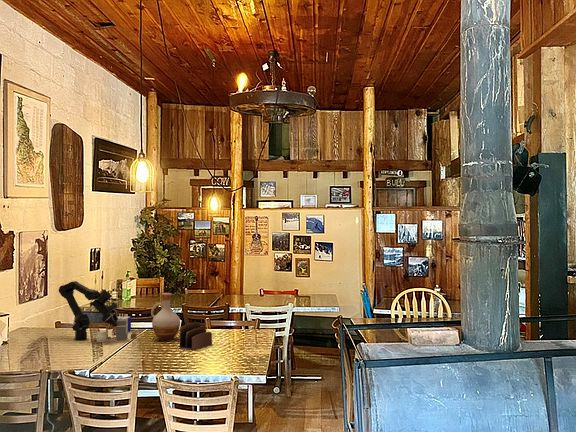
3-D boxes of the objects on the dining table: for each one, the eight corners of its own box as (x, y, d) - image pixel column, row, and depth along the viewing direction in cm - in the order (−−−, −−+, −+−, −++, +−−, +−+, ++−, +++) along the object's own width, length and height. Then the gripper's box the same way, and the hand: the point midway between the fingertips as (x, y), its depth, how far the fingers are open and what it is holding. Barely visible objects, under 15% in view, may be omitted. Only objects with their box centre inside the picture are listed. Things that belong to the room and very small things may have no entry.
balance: (96, 340, 361) (96, 325, 361) (94, 339, 365) (94, 324, 365) (119, 338, 368) (119, 323, 368) (117, 336, 373) (117, 322, 373)
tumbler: (115, 340, 355) (116, 320, 356) (118, 338, 362) (118, 319, 362) (125, 340, 356) (125, 320, 356) (127, 338, 362) (127, 319, 362)
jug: (144, 341, 357) (144, 294, 358) (157, 336, 374) (157, 291, 375) (172, 343, 353) (173, 295, 353) (184, 337, 370) (185, 292, 370)
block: (130, 339, 366) (130, 334, 366) (131, 338, 369) (131, 333, 369) (135, 339, 366) (135, 334, 366) (136, 338, 369) (136, 333, 369)
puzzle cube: (126, 333, 385) (126, 318, 386) (112, 333, 386) (112, 318, 386) (131, 330, 395) (131, 316, 396) (116, 330, 396) (117, 316, 396)
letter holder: (179, 349, 336) (179, 325, 337) (199, 343, 354) (199, 320, 354) (192, 350, 332) (192, 326, 332) (212, 344, 349) (212, 321, 349)
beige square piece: (97, 342, 354) (97, 333, 354) (95, 341, 359) (95, 331, 359) (107, 341, 357) (107, 332, 358) (105, 340, 362) (105, 330, 363)
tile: (117, 342, 353) (117, 341, 353) (113, 340, 360) (113, 339, 360) (129, 341, 357) (129, 339, 357) (126, 339, 364) (126, 337, 364)
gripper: (107, 300, 349) (125, 318, 350) (113, 296, 368) (130, 313, 369) (94, 313, 349) (112, 330, 349) (100, 308, 367) (118, 325, 368)
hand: (118, 324), depth 359 cm, fingers open, 9 cm apart
